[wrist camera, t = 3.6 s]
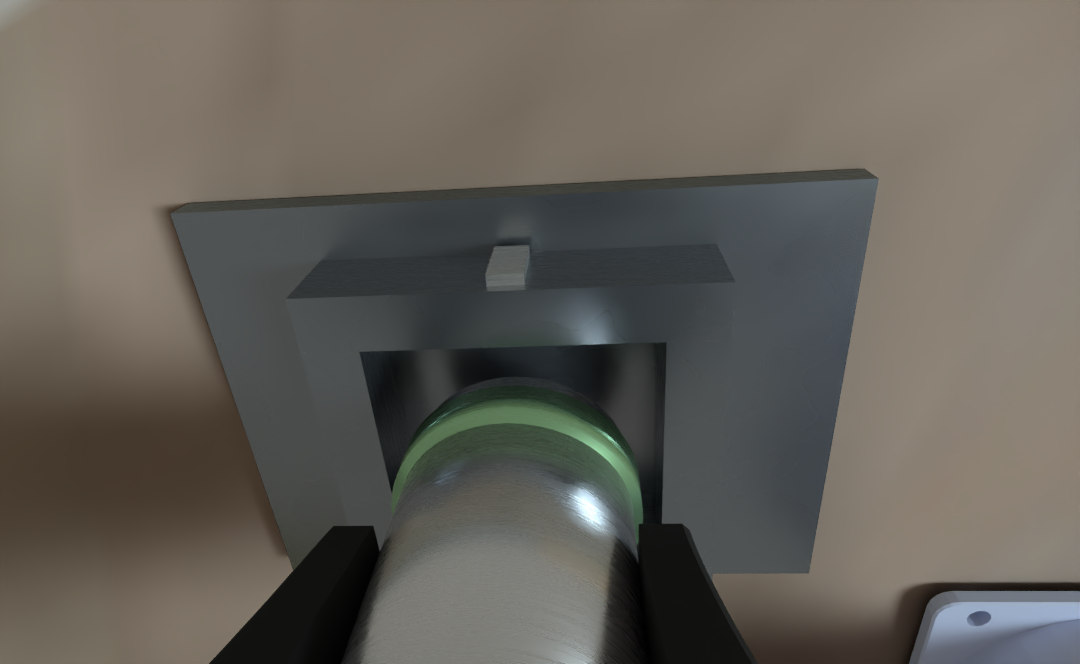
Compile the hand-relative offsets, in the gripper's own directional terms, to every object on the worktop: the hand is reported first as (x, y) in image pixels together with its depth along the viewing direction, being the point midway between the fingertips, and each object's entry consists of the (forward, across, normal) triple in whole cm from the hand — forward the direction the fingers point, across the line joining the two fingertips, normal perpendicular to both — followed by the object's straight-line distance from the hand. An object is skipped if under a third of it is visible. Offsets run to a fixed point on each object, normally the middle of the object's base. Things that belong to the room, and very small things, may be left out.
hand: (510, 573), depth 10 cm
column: (+2, 0, 0) cm, 2 cm away
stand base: (+5, 0, 0) cm, 5 cm away
